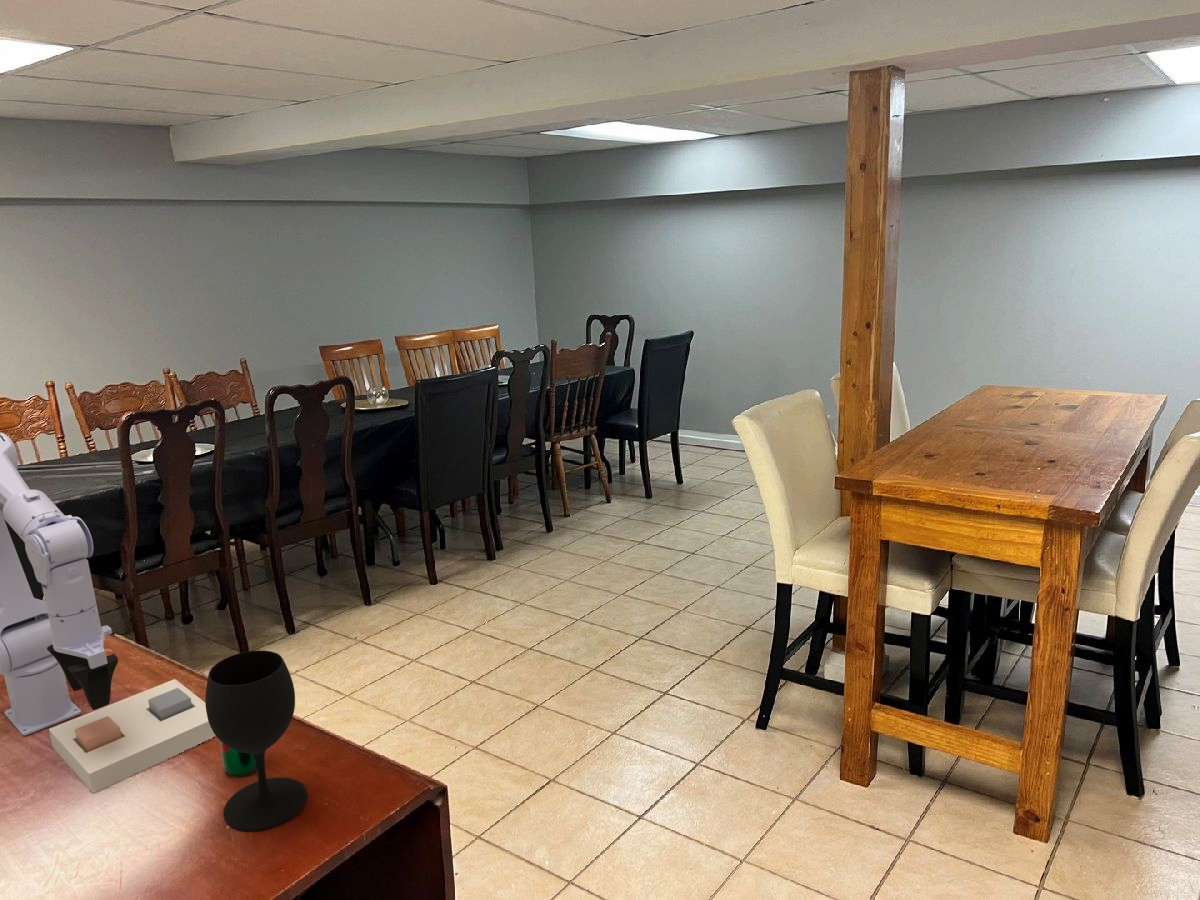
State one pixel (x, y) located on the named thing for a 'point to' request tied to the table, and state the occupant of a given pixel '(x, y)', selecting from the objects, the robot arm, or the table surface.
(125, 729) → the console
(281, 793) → the wine glass
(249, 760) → the soda can
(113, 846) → the table surface
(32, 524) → the robot arm
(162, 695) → the slate key
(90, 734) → the terracotta key
